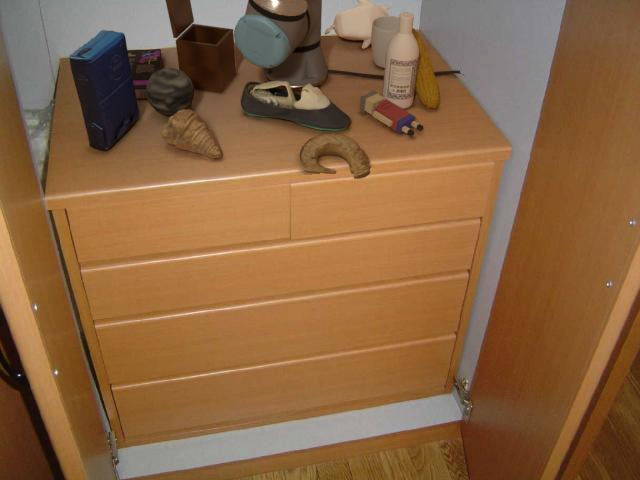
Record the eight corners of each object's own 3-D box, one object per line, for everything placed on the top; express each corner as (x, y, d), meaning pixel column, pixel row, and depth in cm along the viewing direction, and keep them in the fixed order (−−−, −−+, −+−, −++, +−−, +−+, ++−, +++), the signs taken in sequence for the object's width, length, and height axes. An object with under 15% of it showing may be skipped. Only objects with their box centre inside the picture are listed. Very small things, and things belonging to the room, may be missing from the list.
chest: (236, 74, 157) (233, 29, 149) (221, 93, 150) (217, 46, 142) (197, 68, 158) (192, 23, 151) (181, 86, 152) (175, 40, 144)
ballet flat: (343, 139, 136) (345, 104, 130) (234, 119, 141) (231, 84, 136) (354, 119, 142) (356, 85, 136) (249, 100, 147) (247, 66, 142)
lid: (185, -27, 144) (181, -27, 144) (166, -11, 137) (162, -12, 137) (194, 21, 151) (191, 21, 151) (176, 38, 144) (173, 38, 144)
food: (396, 44, 155) (389, 30, 150) (418, 32, 154) (412, 18, 149) (427, 117, 148) (420, 105, 142) (450, 106, 146) (445, 94, 141)
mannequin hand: (386, 46, 177) (400, 43, 166) (320, 54, 174) (331, 52, 163) (381, -3, 174) (395, -9, 163) (315, 5, 171) (324, -1, 160)
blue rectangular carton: (109, 155, 130) (88, 59, 117) (85, 150, 131) (61, 55, 118) (143, 119, 141) (127, 28, 128) (120, 115, 142) (102, 24, 129)
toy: (424, 135, 140) (373, 103, 147) (428, 118, 137) (376, 86, 144) (405, 145, 137) (354, 112, 144) (409, 128, 134) (356, 96, 141)
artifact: (313, 124, 133) (384, 141, 129) (314, 136, 136) (383, 153, 132) (289, 161, 127) (363, 180, 122) (291, 173, 129) (363, 193, 125)
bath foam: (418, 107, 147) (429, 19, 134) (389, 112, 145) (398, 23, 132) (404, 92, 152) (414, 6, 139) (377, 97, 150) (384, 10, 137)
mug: (367, 54, 166) (370, 15, 159) (403, 54, 166) (407, 15, 160) (372, 78, 156) (376, 38, 150) (410, 78, 157) (415, 38, 150)
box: (159, 101, 147) (163, 60, 162) (157, 86, 145) (161, 46, 159) (95, 103, 146) (104, 61, 160) (92, 88, 143) (101, 47, 158)
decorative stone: (196, 123, 140) (191, 80, 133) (148, 126, 138) (141, 82, 132) (196, 100, 147) (192, 58, 141) (150, 102, 146) (144, 60, 139)
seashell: (216, 174, 133) (236, 142, 135) (213, 160, 125) (234, 126, 127) (157, 142, 134) (178, 110, 136) (150, 126, 126) (172, 92, 128)
